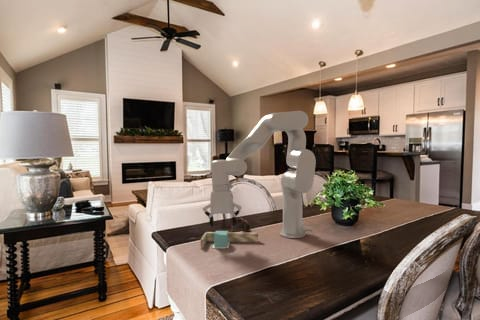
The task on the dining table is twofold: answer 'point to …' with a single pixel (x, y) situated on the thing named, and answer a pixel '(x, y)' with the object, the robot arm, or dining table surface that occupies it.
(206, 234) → the wooden l-shaped bar
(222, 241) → the cube
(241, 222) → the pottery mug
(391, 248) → the dining table surface
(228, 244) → the pad
